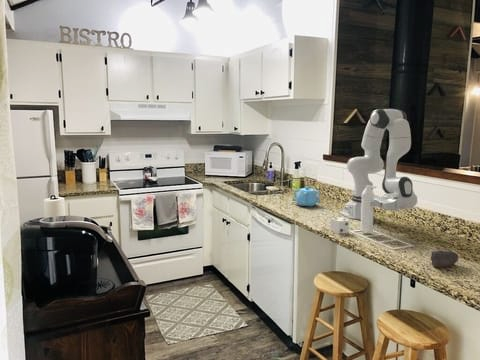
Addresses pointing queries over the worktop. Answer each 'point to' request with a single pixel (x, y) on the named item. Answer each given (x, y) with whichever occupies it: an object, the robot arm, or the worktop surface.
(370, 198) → the white bottle
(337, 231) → the die
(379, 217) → the worktop surface
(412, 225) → the worktop surface
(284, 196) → the worktop surface
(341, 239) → the worktop surface
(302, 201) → the decorative pot
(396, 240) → the game track
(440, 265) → the perforated stone tool
